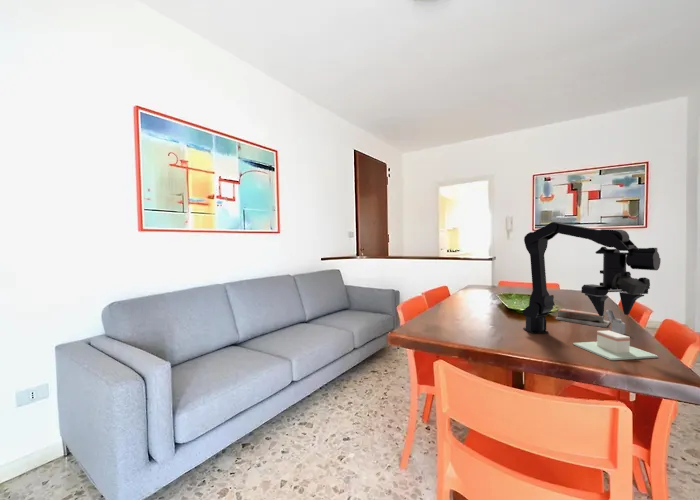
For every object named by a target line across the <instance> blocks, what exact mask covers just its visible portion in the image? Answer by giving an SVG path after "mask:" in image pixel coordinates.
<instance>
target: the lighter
mask: <svg viewBox="0 0 700 500" xmlns="http://www.w3.org/2000/svg"><path fill="white" fill-rule="evenodd" d="M605 313H606V316H607V318H608V321H610V322H611V331H613V332H616V333H619V334H622V335H626V322H623V321H622V319H621V318H616V316H615V313H614V311H613V310H612V309H607V310H605Z"/></svg>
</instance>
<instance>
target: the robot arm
mask: <svg viewBox="0 0 700 500" xmlns="http://www.w3.org/2000/svg"><path fill="white" fill-rule="evenodd" d="M558 234H561V235H565V236H571V237H575V238H580V239H585V240H590V241H592V242H594V243H595V244H598V245H601V247H600V248H599V249H598V250H596V251H595V254H599V255H603V259H602V260H603V261H602V263H603V265H602V270H599V274H601V275H602V282H599V284H583V285H582V286H581V294H584V296H585V297H586V296H587V297H588V299H589V300H590V302H591V303H592V304H593V307H594V309H595V311H596V313H597V314H599V316H603V315H604V313H605V301H606V300H607V299H608V298H609V296H607V295H608V293H619V297H620V303H621V306H622V312H623V313H624V315H626V316H629V314H630V312H631V311H632V309H633V306H634V304H635V303H636V301H637V300H638V299H640V298H642V297H645V295H648V294H649V290H650V289H651V282H650V281H651V280H650V278H648V277H639V278H635V277H632V273H631V272H630V271H628V270H627V266H628V267H630V269H632V270H642V271H643V270H645V271H658V270H659V269H660V266H661V262H662V261H661V258H660V254H659V253H660V252H658V247H646V248H645V247H643V248H642V247H637V245H635V243H634V242H633V241H632V240H631V239H630V234H629V233H628V231H626V230H623V229H607V228H606V229H605V228H603V229H602V228H598V229H597V228H592V227H586V226H580V225H575V224H568V223H563V222H561V221H560V222H559V221H552V222H550V223H548V224H545V226H542V227H540V228H537V229H536V230H534V231H530V232H528V233H527V234H525V235H524V237H523V241H524V245H525V248H526V249H525V250H526V251H527V252H528V254H529V257H530V258H529V259H530V270H531V271H530V273H531V286H532V291H531V294H530V297H529V300H528V306H527V307H525V308H524V309H522V315H523V316H524V317H525V327H523V328H522V329H523V330H525V331H527V332H529V333H531V334H549V330H547V318H546V316H548V315H549V313H550V312H551V311H552V310H553V308H554V306H555V305H556V304H555V301H554V299H555V297H554V294H550V293H549V292H548V289H547V287H548V286H547V277H546V274H547V273H546V262H545V253H546V251H547V248H548V243H549V240H552V239H553V238H555V236H557V235H558Z"/></svg>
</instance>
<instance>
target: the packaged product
mask: <svg viewBox="0 0 700 500" xmlns="http://www.w3.org/2000/svg"><path fill="white" fill-rule="evenodd" d="M604 317H605V315H604V314H603V316H599V314H598V312H596V313H595V312H589V311H583V310H576V309H567V308H560V309H558V310H557V316H556V317H555V320H558V321H563V322H568V323H573V324H580V325H587V326H593V327H599V328H601V327H602V328H607V327H608V326H609V325H610V323H611V321H609V320H605V319H604Z"/></svg>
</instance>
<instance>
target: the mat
mask: <svg viewBox="0 0 700 500" xmlns="http://www.w3.org/2000/svg"><path fill="white" fill-rule="evenodd" d="M572 345H573V346H576V347H578V348H580V349H583V350H585V351H587V352H590V353H592V354H594V355H597V356H599V357H601V358H605V359H608V360H609V361H623V360H635V359H636V360H639V359H640V360H641V359H654V358H659V357H658V355H657V354H654V353H651V352H649V351H646V350H643V349H640V348H637V347H635V346H631V345H630V352H628V353H615V352H612V351H610V350H607V349H605V348H602V347H599V346H597V341H586V342H585V341H584V342H583V341H582V342H580V341H579V342H572Z"/></svg>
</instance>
